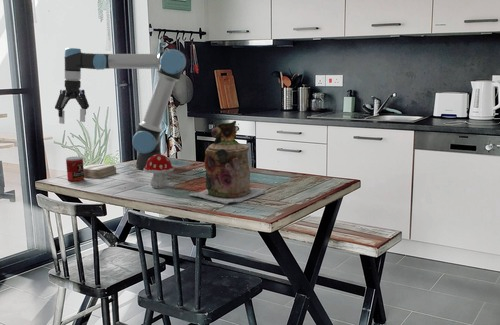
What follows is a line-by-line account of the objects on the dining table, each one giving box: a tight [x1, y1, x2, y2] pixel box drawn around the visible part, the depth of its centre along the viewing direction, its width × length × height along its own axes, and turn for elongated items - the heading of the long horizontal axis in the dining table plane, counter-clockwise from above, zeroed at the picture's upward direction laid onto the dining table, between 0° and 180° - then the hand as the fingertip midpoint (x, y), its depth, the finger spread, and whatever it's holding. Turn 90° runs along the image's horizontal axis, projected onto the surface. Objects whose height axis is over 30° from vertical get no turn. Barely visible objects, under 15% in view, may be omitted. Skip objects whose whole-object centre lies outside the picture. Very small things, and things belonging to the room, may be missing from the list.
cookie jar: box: [189, 120, 268, 205], centre depth 224 cm, size 25×25×32 cm
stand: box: [83, 163, 117, 179], centre depth 271 cm, size 14×14×4 cm
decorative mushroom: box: [143, 153, 175, 189], centre depth 242 cm, size 14×14×15 cm
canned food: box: [65, 156, 85, 183], centre depth 258 cm, size 8×8×11 cm
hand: (72, 122), depth 268 cm, fingers open, 13 cm apart
